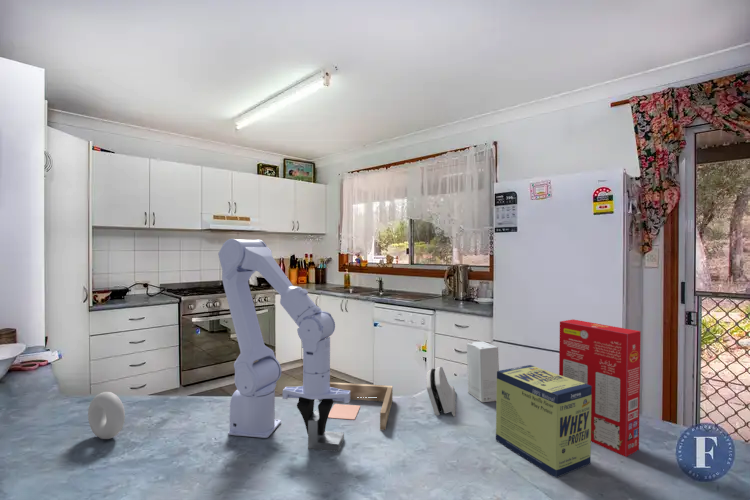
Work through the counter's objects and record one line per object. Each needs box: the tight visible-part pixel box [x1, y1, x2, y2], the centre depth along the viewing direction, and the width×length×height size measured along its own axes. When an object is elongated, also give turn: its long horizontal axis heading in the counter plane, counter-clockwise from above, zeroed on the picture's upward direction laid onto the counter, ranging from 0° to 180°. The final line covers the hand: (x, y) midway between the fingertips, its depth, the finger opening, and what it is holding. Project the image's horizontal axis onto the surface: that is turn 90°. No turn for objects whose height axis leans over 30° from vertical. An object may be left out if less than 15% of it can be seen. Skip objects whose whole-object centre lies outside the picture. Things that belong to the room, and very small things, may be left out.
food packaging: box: [558, 318, 642, 458], centre depth 85 cm, size 15×5×25 cm, turn 31°
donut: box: [87, 391, 126, 440], centre depth 83 cm, size 10×3×10 cm, turn 65°
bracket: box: [307, 409, 345, 452], centre depth 81 cm, size 6×5×6 cm
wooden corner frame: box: [330, 381, 394, 431], centre depth 98 cm, size 21×17×4 cm
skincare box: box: [466, 341, 500, 403], centre depth 108 cm, size 8×6×15 cm
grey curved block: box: [425, 366, 457, 417], centre depth 103 cm, size 17×5×10 cm, turn 168°
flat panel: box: [328, 403, 361, 421], centre depth 97 cm, size 7×8×1 cm
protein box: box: [495, 364, 592, 478], centre depth 79 cm, size 10×16×16 cm
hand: (316, 432), depth 82 cm, fingers closed on bracket
